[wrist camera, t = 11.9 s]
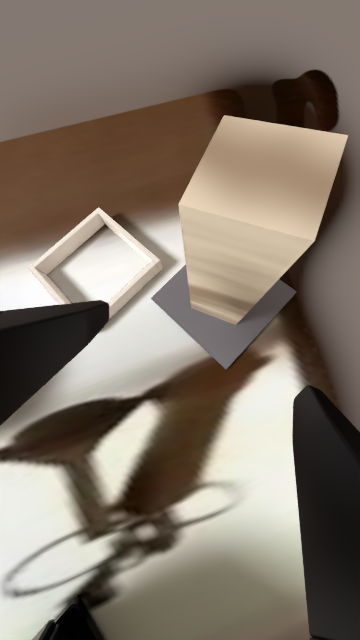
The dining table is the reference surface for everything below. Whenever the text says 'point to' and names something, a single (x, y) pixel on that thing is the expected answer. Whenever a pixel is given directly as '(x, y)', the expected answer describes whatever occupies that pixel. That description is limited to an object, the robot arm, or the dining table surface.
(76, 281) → the dining table surface
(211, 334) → the mat
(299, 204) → the birch block
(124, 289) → the tray
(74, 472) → the dining table surface
